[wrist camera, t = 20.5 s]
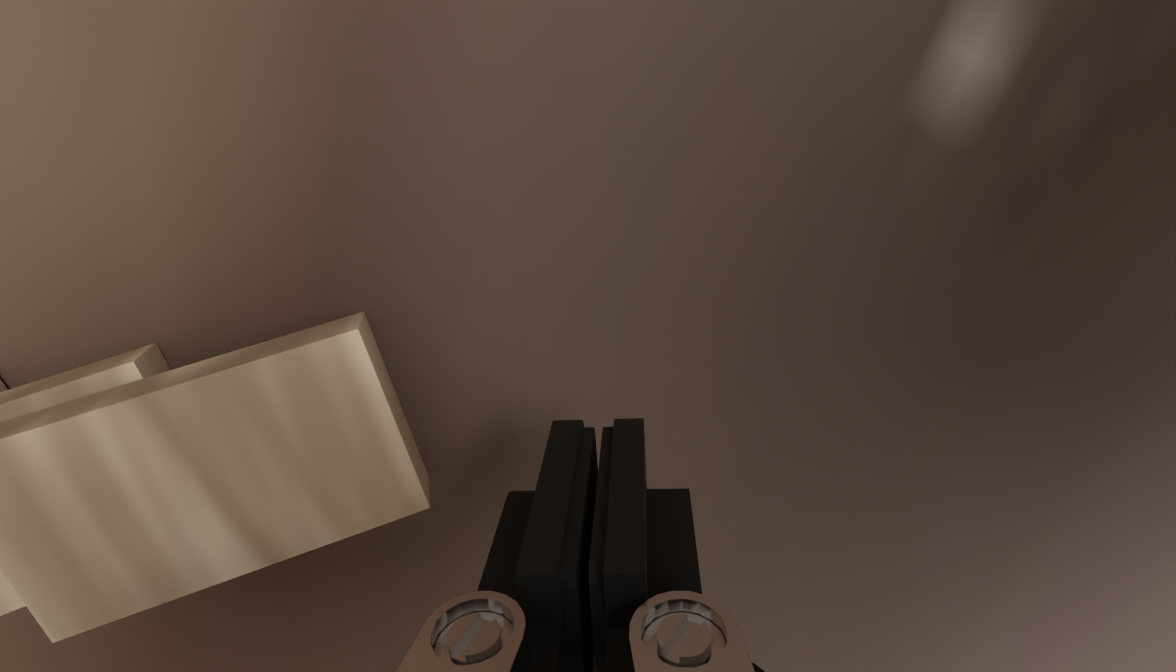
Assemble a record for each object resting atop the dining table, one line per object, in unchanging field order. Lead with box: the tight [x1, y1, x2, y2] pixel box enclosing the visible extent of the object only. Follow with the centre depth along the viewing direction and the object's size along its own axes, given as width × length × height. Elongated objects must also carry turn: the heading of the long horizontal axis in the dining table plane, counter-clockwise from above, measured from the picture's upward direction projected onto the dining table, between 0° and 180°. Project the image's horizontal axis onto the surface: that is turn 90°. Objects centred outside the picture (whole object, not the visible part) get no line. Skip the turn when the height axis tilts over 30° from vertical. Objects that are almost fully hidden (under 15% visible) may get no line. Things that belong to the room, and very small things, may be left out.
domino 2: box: [0, 311, 430, 643], centre depth 15 cm, size 2×5×9 cm
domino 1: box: [0, 343, 171, 616], centre depth 16 cm, size 2×5×9 cm
